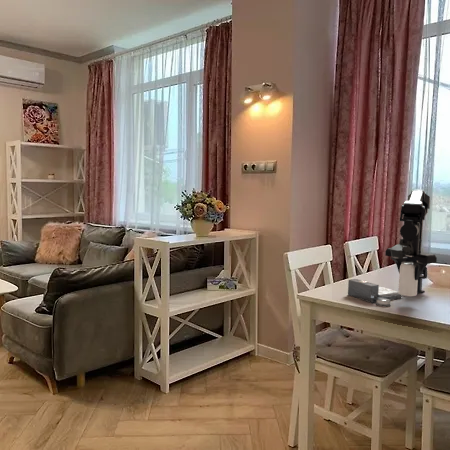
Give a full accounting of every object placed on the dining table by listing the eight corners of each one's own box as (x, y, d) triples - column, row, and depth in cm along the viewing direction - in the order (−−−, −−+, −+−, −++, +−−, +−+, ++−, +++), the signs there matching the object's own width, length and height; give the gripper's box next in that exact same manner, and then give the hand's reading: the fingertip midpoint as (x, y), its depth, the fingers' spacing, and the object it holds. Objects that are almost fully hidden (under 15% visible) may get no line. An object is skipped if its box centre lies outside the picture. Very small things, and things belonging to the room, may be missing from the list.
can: (395, 292, 177) (397, 261, 176) (411, 292, 178) (413, 261, 176) (403, 297, 171) (405, 264, 169) (420, 296, 171) (422, 264, 170)
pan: (378, 287, 196) (378, 285, 196) (399, 293, 186) (399, 291, 186) (358, 290, 190) (359, 288, 190) (379, 296, 181) (379, 294, 181)
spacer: (382, 302, 179) (383, 297, 179) (393, 306, 175) (393, 300, 174) (373, 304, 177) (373, 299, 176) (383, 307, 172) (383, 302, 172)
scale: (376, 290, 197) (377, 274, 196) (401, 298, 185) (402, 281, 185) (346, 295, 189) (347, 278, 188) (371, 303, 177) (372, 285, 177)
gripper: (375, 234, 176) (373, 275, 178) (417, 241, 160) (415, 285, 161) (396, 233, 181) (394, 272, 183) (438, 239, 165) (436, 282, 167)
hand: (408, 278), depth 173 cm, fingers closed on can, 6 cm apart
